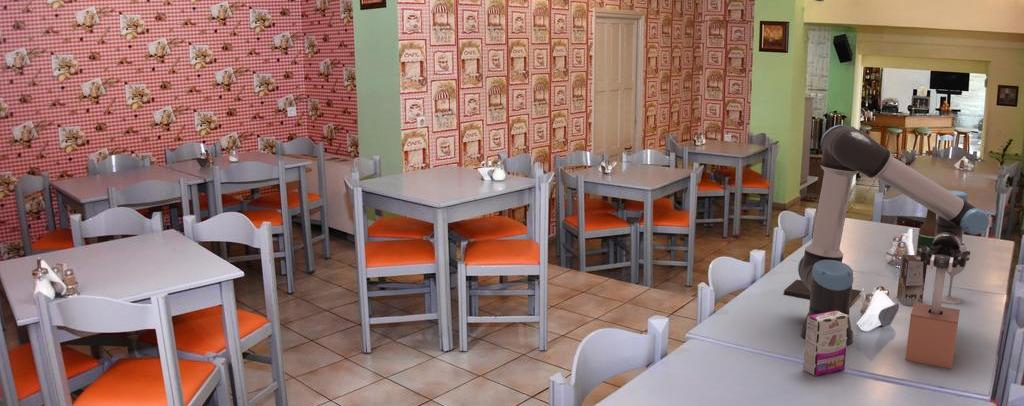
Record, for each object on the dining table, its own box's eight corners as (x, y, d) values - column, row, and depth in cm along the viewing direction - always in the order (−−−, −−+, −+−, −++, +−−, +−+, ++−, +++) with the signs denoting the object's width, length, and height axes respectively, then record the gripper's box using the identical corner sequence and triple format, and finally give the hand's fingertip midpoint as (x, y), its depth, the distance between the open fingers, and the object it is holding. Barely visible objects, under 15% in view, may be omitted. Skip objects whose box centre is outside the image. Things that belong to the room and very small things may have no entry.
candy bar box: (831, 363, 231) (836, 309, 228) (844, 370, 227) (850, 315, 223) (801, 370, 227) (806, 314, 223) (814, 377, 222) (819, 320, 219)
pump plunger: (926, 324, 237) (935, 253, 232) (941, 326, 235) (950, 255, 230) (924, 331, 231) (933, 259, 226) (940, 334, 229) (949, 262, 224)
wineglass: (963, 300, 286) (971, 243, 282) (957, 305, 281) (965, 247, 276) (940, 295, 291) (947, 239, 287) (934, 300, 286) (941, 243, 281)
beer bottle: (937, 259, 337) (944, 203, 332) (935, 263, 331) (942, 206, 326) (916, 256, 341) (923, 201, 336) (914, 260, 335) (921, 204, 330)
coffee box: (922, 306, 279) (928, 262, 276) (902, 305, 281) (908, 260, 277) (915, 298, 288) (920, 254, 285) (896, 296, 289) (901, 253, 286)
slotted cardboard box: (909, 346, 244) (914, 302, 241) (953, 354, 238) (959, 309, 235) (905, 359, 234) (910, 314, 231) (951, 368, 228) (958, 322, 225)
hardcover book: (796, 285, 304) (796, 279, 303) (860, 296, 291) (861, 290, 291) (783, 296, 291) (783, 290, 290) (850, 309, 278) (851, 302, 278)
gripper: (976, 263, 242) (973, 284, 222) (913, 255, 250) (905, 274, 231) (979, 239, 240) (977, 257, 220) (916, 231, 249) (908, 248, 229)
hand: (940, 266), depth 226 cm, fingers closed on pump plunger, 4 cm apart
